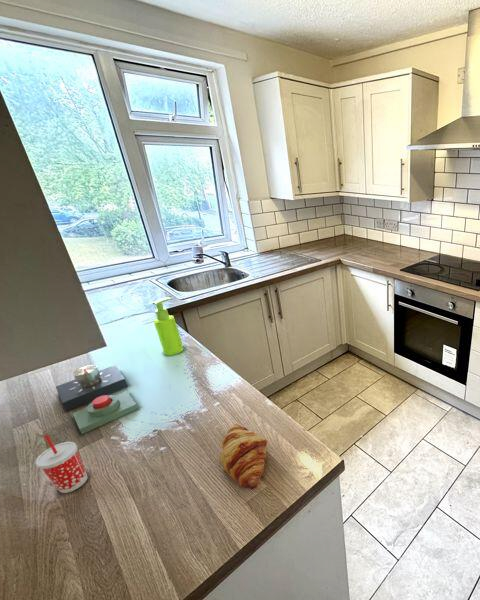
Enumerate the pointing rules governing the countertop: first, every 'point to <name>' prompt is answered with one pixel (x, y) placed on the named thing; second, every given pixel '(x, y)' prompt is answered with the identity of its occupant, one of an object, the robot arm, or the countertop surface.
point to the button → (101, 401)
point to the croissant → (243, 456)
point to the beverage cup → (62, 466)
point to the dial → (87, 376)
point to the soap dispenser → (167, 329)
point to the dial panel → (91, 388)
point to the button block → (104, 412)
